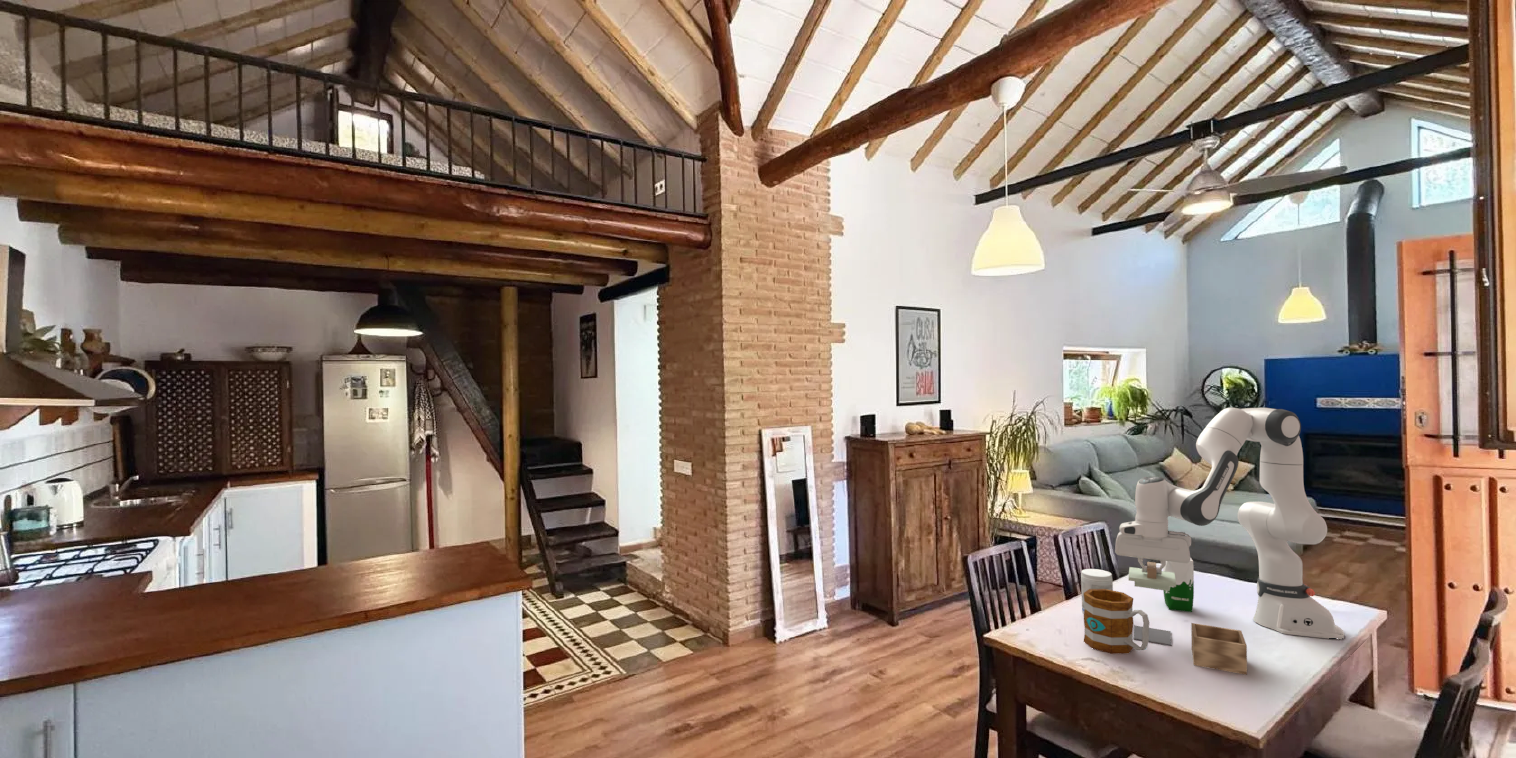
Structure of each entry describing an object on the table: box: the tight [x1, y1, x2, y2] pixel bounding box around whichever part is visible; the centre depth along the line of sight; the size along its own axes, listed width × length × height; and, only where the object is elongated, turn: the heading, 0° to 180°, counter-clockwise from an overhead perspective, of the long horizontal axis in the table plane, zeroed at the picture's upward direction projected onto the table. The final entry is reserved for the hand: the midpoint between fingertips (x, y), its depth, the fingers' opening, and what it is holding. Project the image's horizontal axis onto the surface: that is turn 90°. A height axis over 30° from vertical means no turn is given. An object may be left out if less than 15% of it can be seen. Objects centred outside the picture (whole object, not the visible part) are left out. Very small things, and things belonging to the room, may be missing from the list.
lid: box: [1128, 561, 1176, 591], centre depth 204 cm, size 12×12×6 cm
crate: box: [1190, 622, 1248, 676], centre depth 185 cm, size 12×12×8 cm
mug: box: [1083, 589, 1150, 655], centre depth 195 cm, size 20×14×15 cm
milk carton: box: [1162, 557, 1195, 613], centre depth 228 cm, size 9×9×20 cm
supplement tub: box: [1080, 568, 1114, 615], centre depth 222 cm, size 10×10×15 cm
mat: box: [1133, 624, 1173, 647], centre depth 204 cm, size 10×12×1 cm
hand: (1151, 573), depth 204 cm, fingers closed on lid, 2 cm apart
